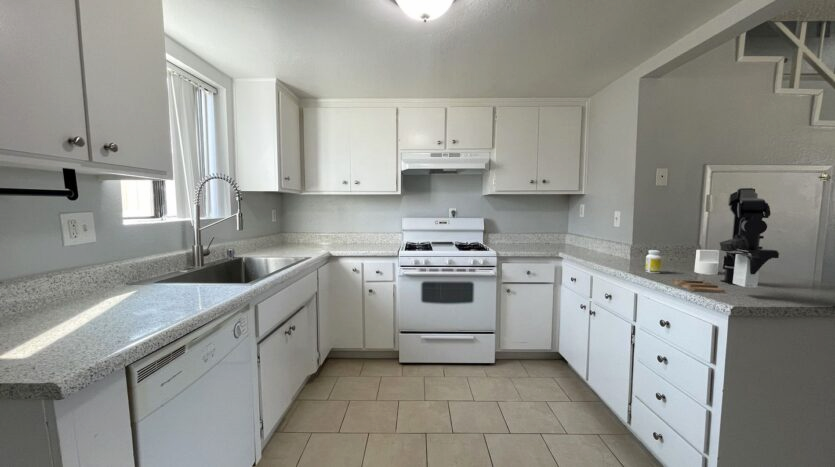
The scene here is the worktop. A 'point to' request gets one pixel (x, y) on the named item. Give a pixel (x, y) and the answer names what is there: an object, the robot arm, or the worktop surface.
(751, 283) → the skincare box
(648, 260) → the pill bottle
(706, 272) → the cylinder with rectangular tab
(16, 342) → the worktop surface
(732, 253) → the robot arm
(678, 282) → the wooden slatted trivet
